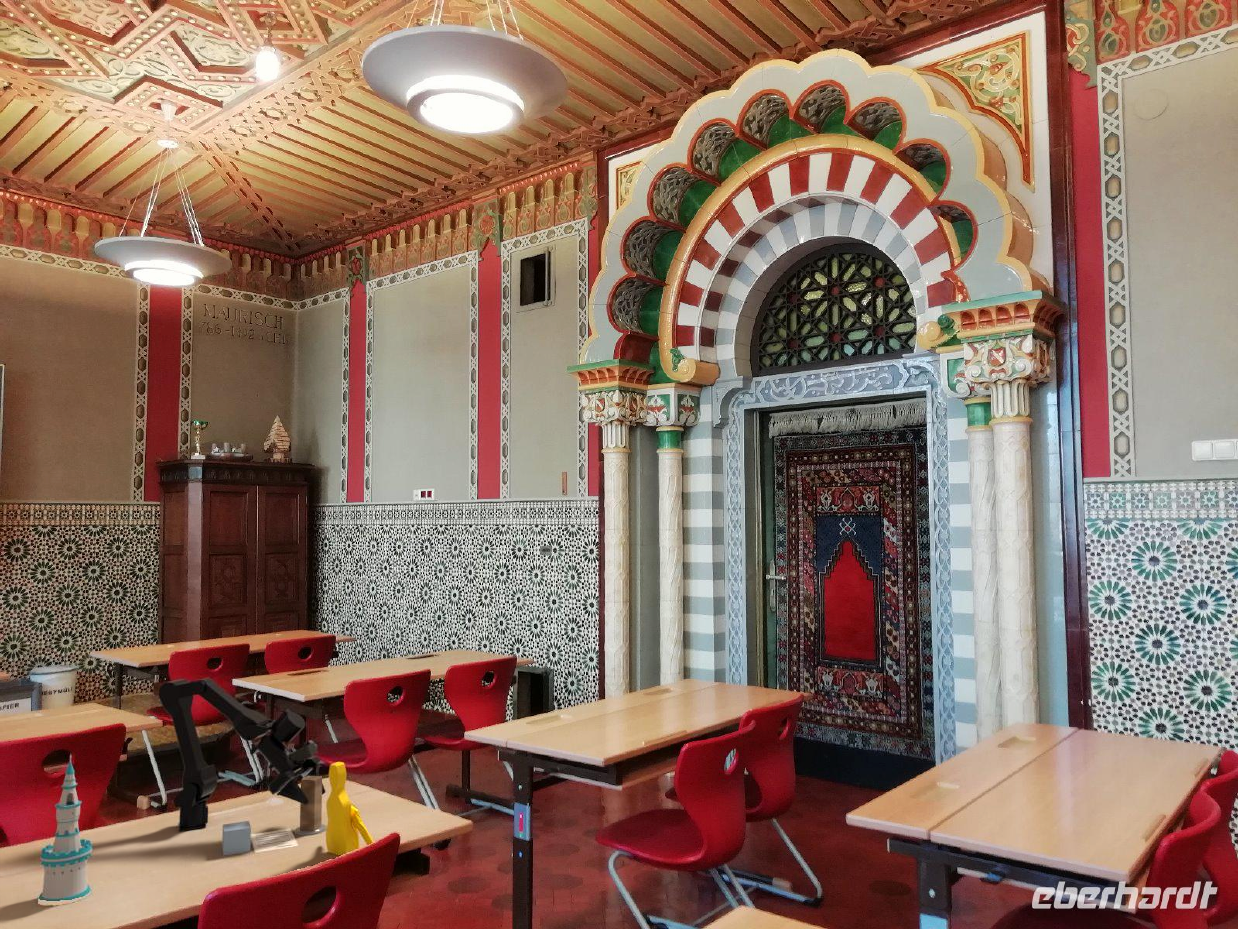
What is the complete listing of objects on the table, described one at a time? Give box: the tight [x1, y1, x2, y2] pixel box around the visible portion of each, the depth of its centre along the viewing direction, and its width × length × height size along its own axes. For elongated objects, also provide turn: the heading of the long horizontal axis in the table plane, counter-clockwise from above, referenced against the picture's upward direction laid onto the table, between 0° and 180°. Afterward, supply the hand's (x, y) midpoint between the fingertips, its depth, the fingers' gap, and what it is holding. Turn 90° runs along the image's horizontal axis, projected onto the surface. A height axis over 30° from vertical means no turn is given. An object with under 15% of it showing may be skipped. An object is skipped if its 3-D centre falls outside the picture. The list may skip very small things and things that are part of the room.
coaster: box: [293, 823, 327, 836], centre depth 232 cm, size 8×8×1 cm
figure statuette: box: [325, 761, 375, 856], centre depth 216 cm, size 18×8×22 cm, turn 56°
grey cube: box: [221, 820, 252, 856], centre depth 218 cm, size 6×6×6 cm
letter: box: [251, 828, 299, 854], centre depth 225 cm, size 10×15×1 cm, turn 27°
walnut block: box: [299, 775, 323, 831], centre depth 233 cm, size 4×4×13 cm
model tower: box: [38, 753, 93, 901], centre depth 192 cm, size 10×10×30 cm
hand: (316, 798), depth 233 cm, fingers open, 9 cm apart
